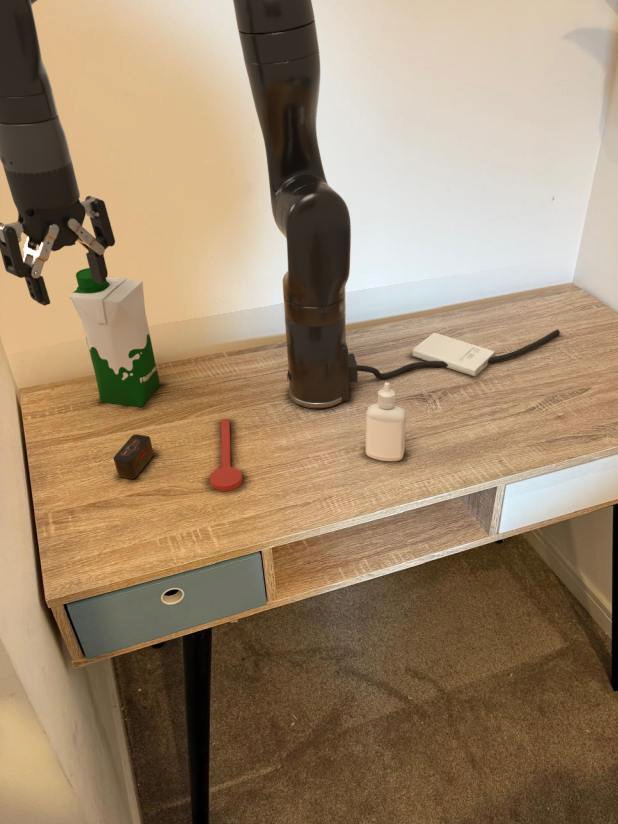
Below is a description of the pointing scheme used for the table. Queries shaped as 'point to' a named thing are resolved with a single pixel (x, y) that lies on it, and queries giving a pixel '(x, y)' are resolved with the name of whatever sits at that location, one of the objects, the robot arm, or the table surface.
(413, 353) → the hard drive
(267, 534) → the table surface
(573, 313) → the table surface
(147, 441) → the black gauge box
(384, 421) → the eye dropper bottle
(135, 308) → the milk carton
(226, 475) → the spoon
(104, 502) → the table surface
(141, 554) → the table surface
